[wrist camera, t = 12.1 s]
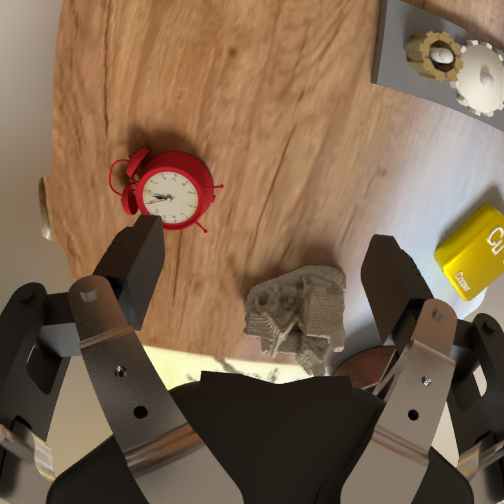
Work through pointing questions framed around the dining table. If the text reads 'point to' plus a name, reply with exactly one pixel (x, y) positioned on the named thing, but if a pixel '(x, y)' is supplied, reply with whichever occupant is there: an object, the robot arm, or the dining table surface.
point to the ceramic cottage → (299, 315)
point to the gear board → (397, 57)
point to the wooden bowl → (366, 367)
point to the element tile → (474, 252)
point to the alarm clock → (168, 188)
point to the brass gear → (420, 52)
